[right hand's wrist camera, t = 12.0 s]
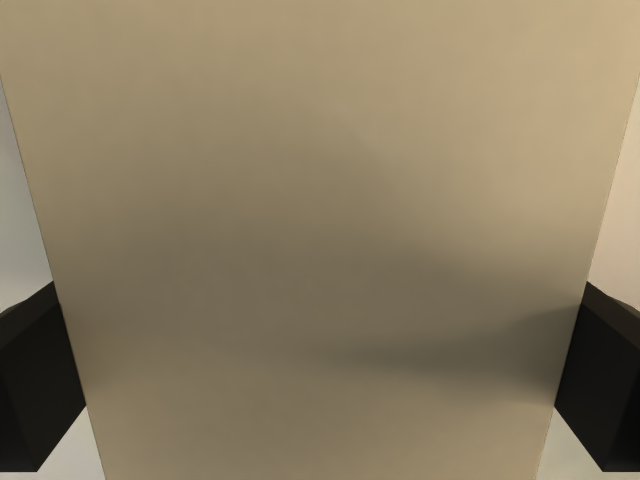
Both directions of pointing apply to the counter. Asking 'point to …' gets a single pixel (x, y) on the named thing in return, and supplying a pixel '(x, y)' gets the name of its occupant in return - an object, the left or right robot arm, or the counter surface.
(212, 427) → the cabinet
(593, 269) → the counter surface
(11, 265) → the counter surface
